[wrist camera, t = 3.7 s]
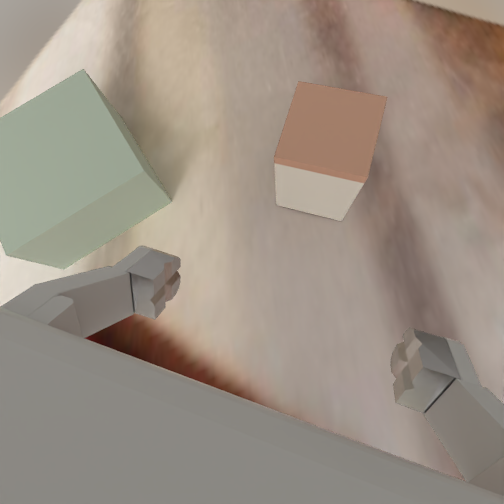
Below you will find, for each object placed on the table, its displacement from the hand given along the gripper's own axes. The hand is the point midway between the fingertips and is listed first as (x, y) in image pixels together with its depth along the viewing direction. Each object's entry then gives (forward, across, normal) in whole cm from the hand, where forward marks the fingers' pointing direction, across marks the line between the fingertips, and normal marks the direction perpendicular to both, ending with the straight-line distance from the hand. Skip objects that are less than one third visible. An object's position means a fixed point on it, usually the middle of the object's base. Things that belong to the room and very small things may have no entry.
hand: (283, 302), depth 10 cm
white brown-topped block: (+19, 0, +2) cm, 19 cm away
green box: (+15, +21, +6) cm, 27 cm away
